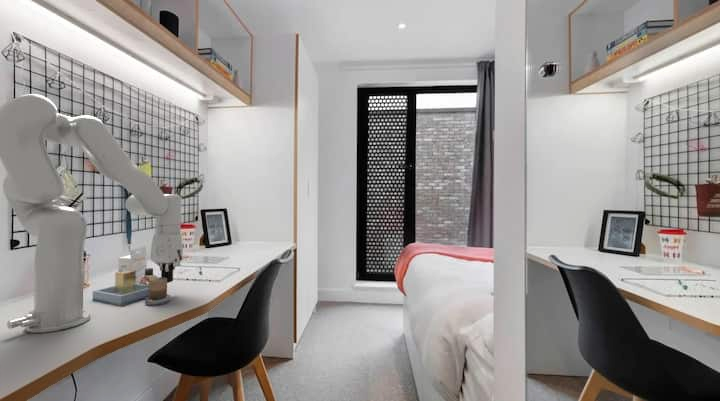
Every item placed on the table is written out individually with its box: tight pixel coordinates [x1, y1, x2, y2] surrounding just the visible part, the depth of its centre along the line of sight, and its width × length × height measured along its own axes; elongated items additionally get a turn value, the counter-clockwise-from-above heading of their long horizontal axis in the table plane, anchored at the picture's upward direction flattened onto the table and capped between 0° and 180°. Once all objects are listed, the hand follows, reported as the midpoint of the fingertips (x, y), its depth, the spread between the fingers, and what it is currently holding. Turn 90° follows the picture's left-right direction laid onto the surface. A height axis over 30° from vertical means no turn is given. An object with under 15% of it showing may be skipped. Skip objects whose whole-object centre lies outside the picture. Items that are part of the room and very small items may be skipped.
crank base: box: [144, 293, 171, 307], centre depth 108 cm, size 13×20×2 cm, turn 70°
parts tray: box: [92, 283, 149, 307], centre depth 106 cm, size 12×14×3 cm
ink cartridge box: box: [117, 246, 148, 285], centre depth 119 cm, size 9×5×15 cm, turn 179°
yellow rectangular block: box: [114, 270, 136, 295], centre depth 106 cm, size 4×4×8 cm
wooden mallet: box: [144, 267, 168, 299], centre depth 107 cm, size 17×5×7 cm, turn 45°
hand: (167, 282), depth 109 cm, fingers closed
